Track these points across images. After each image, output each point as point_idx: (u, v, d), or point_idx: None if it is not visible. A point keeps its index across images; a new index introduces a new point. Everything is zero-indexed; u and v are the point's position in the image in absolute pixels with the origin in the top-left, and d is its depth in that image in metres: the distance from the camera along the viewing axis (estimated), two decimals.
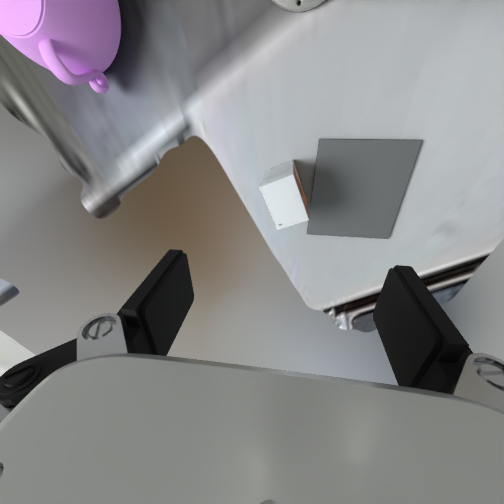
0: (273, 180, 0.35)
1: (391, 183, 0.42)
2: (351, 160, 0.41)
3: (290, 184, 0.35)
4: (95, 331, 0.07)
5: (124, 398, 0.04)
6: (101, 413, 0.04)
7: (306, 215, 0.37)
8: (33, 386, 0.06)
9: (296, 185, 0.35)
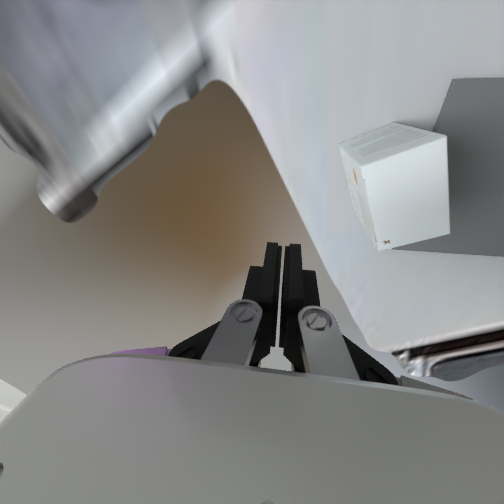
0: (393, 152, 0.17)
1: None
2: None
3: (433, 160, 0.16)
4: (241, 315, 0.08)
5: (124, 398, 0.04)
6: (101, 413, 0.04)
7: (448, 224, 0.18)
8: None
9: (446, 162, 0.16)
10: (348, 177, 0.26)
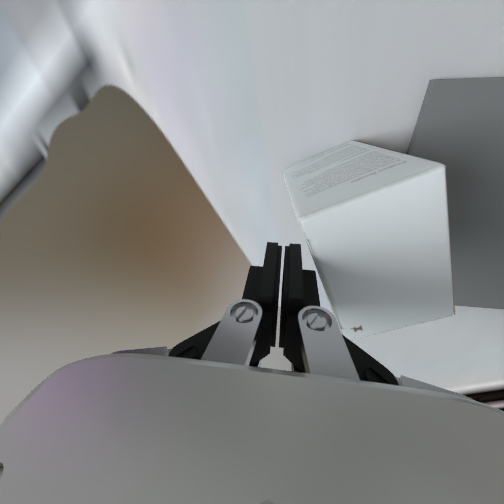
0: (353, 194, 0.09)
1: None
2: None
3: (423, 207, 0.09)
4: (241, 315, 0.08)
5: (124, 398, 0.04)
6: (101, 413, 0.04)
7: (451, 302, 0.11)
8: None
9: (445, 210, 0.09)
10: None
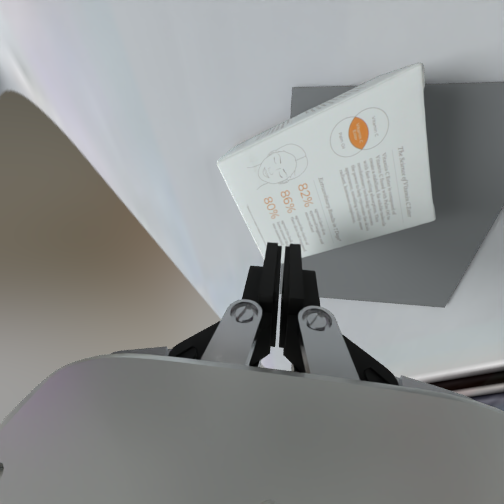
0: (393, 71, 0.12)
1: (468, 197, 0.18)
2: None
3: None
4: (241, 315, 0.08)
5: (124, 398, 0.04)
6: (101, 413, 0.04)
7: None
8: None
9: None
10: (271, 200, 0.14)
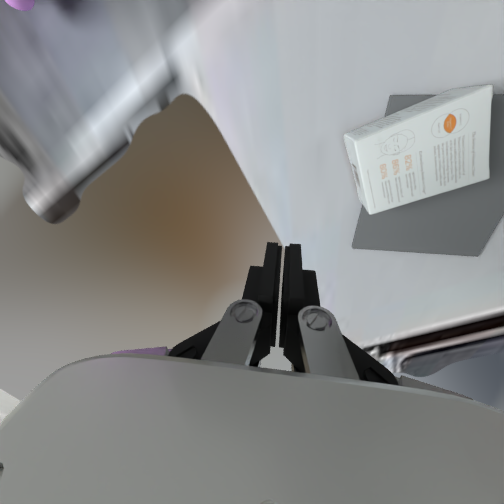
0: (468, 87, 0.20)
1: (502, 170, 0.26)
2: None
3: None
4: (241, 315, 0.08)
5: (124, 398, 0.04)
6: (101, 413, 0.04)
7: None
8: None
9: None
10: (384, 166, 0.22)
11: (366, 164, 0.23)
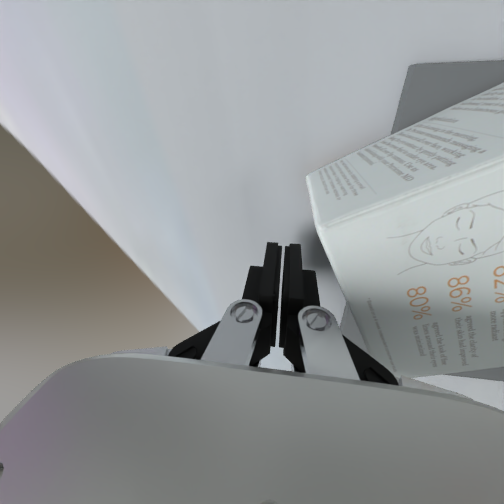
0: None
1: None
2: None
3: None
4: (241, 315, 0.08)
5: (124, 398, 0.04)
6: (101, 413, 0.04)
7: None
8: None
9: None
10: (423, 292, 0.07)
11: (363, 287, 0.07)
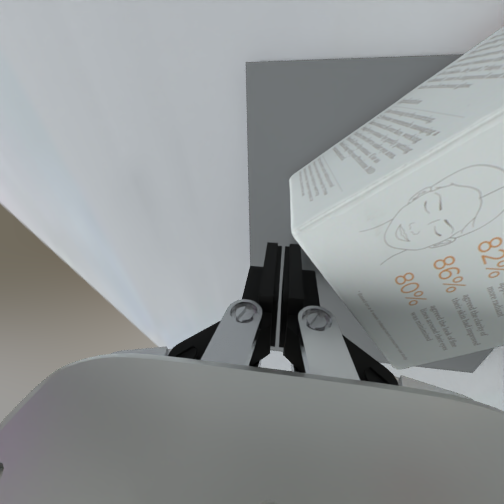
0: None
1: None
2: None
3: None
4: (241, 315, 0.08)
5: (124, 398, 0.04)
6: (101, 413, 0.04)
7: None
8: None
9: None
10: (411, 277, 0.07)
11: (350, 281, 0.07)
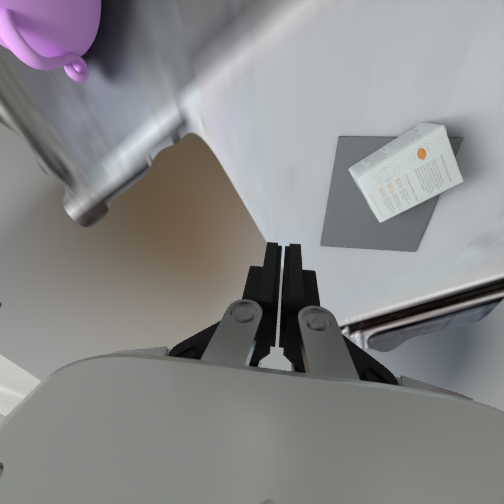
0: (430, 125, 0.29)
1: None
2: None
3: None
4: (241, 315, 0.08)
5: (124, 398, 0.04)
6: (101, 413, 0.04)
7: None
8: None
9: None
10: (382, 189, 0.31)
11: (368, 190, 0.32)
